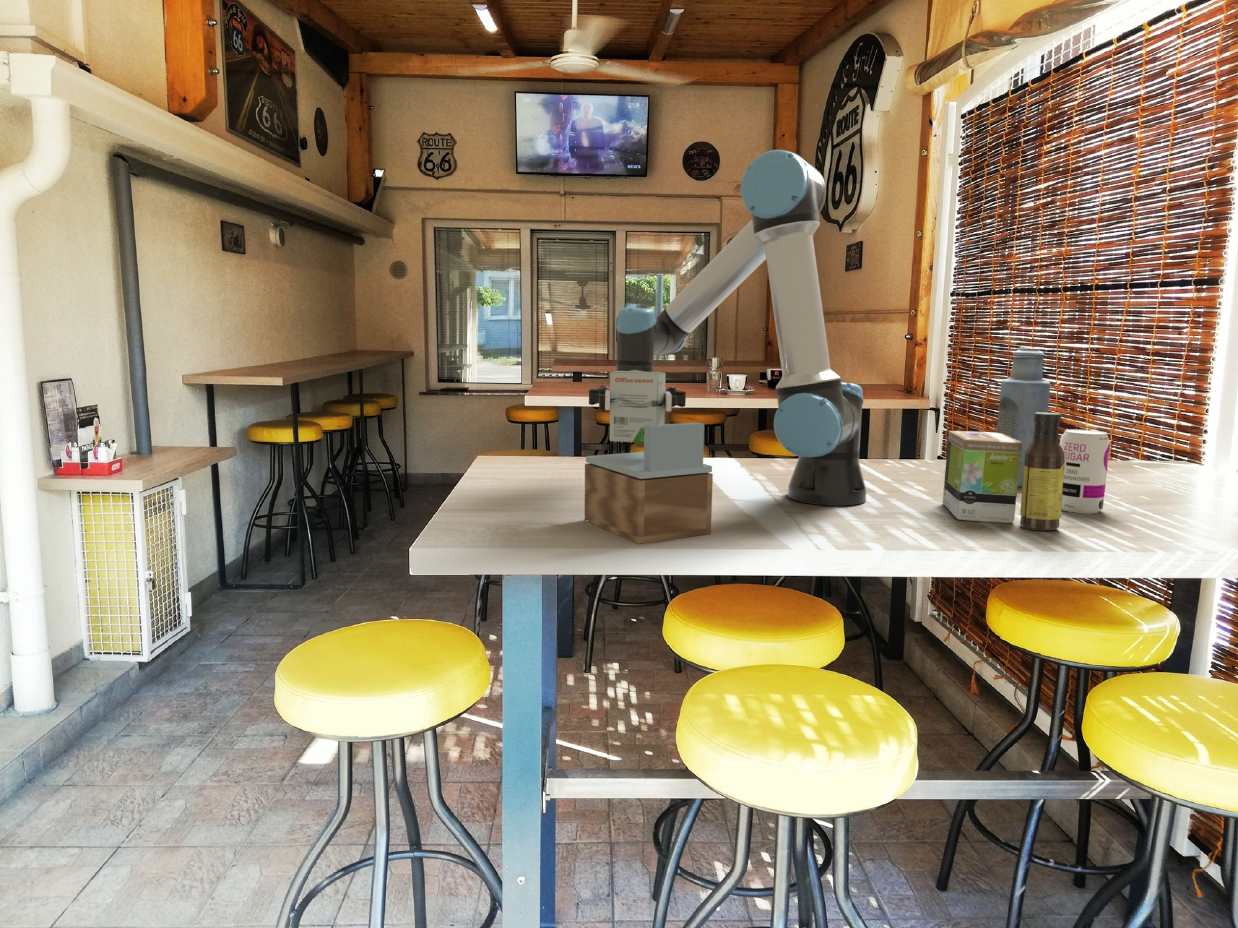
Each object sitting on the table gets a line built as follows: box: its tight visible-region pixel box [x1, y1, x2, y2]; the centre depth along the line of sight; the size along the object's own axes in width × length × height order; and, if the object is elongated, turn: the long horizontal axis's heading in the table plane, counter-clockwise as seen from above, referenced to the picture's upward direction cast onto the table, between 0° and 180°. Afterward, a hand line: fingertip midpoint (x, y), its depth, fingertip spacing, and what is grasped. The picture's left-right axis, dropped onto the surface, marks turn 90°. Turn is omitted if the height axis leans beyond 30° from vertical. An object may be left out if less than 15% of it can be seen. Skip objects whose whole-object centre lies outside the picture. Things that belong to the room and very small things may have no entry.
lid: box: [585, 421, 713, 479], centre depth 138 cm, size 18×14×8 cm
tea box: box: [942, 430, 1022, 524], centre depth 153 cm, size 15×10×15 cm
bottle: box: [996, 346, 1051, 488], centre depth 182 cm, size 10×10×30 cm
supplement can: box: [1059, 429, 1111, 515], centre depth 157 cm, size 8×8×15 cm
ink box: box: [609, 370, 666, 444], centre depth 140 cm, size 9×5×12 cm, turn 71°
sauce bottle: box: [1019, 412, 1065, 531], centre depth 142 cm, size 6×6×20 cm
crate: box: [584, 462, 714, 545], centre depth 140 cm, size 18×14×10 cm
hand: (638, 402), depth 135 cm, fingers closed on ink box, 9 cm apart
